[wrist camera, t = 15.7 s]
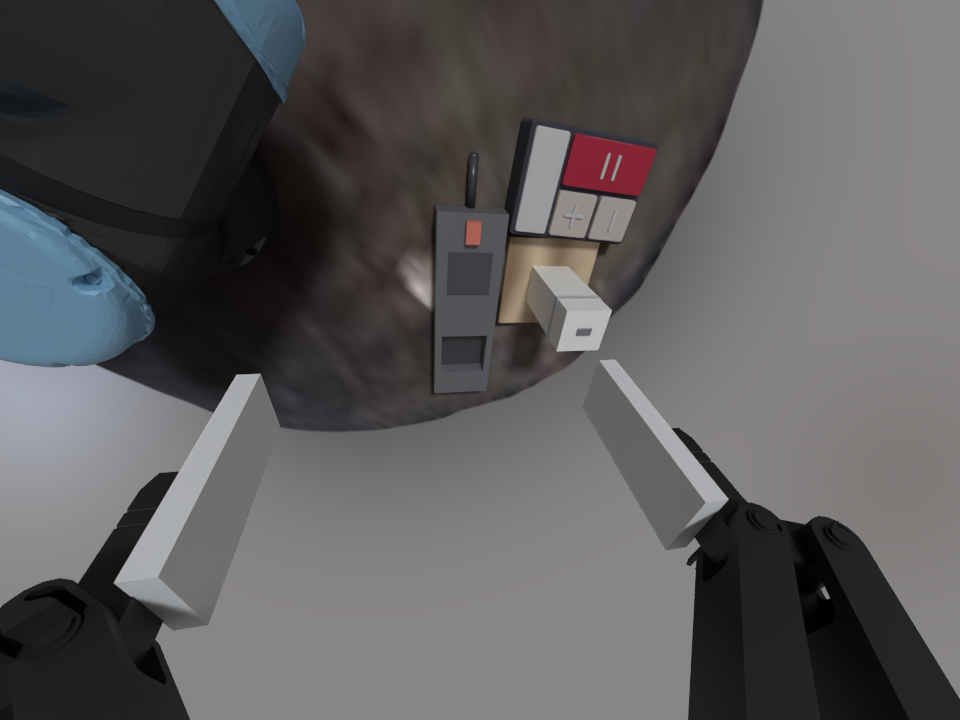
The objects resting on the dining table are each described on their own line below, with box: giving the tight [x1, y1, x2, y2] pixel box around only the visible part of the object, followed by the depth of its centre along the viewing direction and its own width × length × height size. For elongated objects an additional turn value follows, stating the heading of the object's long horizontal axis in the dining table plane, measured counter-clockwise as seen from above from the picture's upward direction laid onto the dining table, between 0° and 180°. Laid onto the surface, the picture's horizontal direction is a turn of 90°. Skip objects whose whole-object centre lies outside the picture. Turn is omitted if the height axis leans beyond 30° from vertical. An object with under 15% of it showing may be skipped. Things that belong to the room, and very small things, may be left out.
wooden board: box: [497, 234, 600, 323], centre depth 47 cm, size 12×12×1 cm
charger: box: [526, 266, 612, 351], centre depth 42 cm, size 5×5×12 cm
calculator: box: [504, 117, 658, 244], centre depth 40 cm, size 11×4×15 cm
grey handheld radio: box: [433, 152, 509, 393], centre depth 45 cm, size 32×8×4 cm, turn 175°
